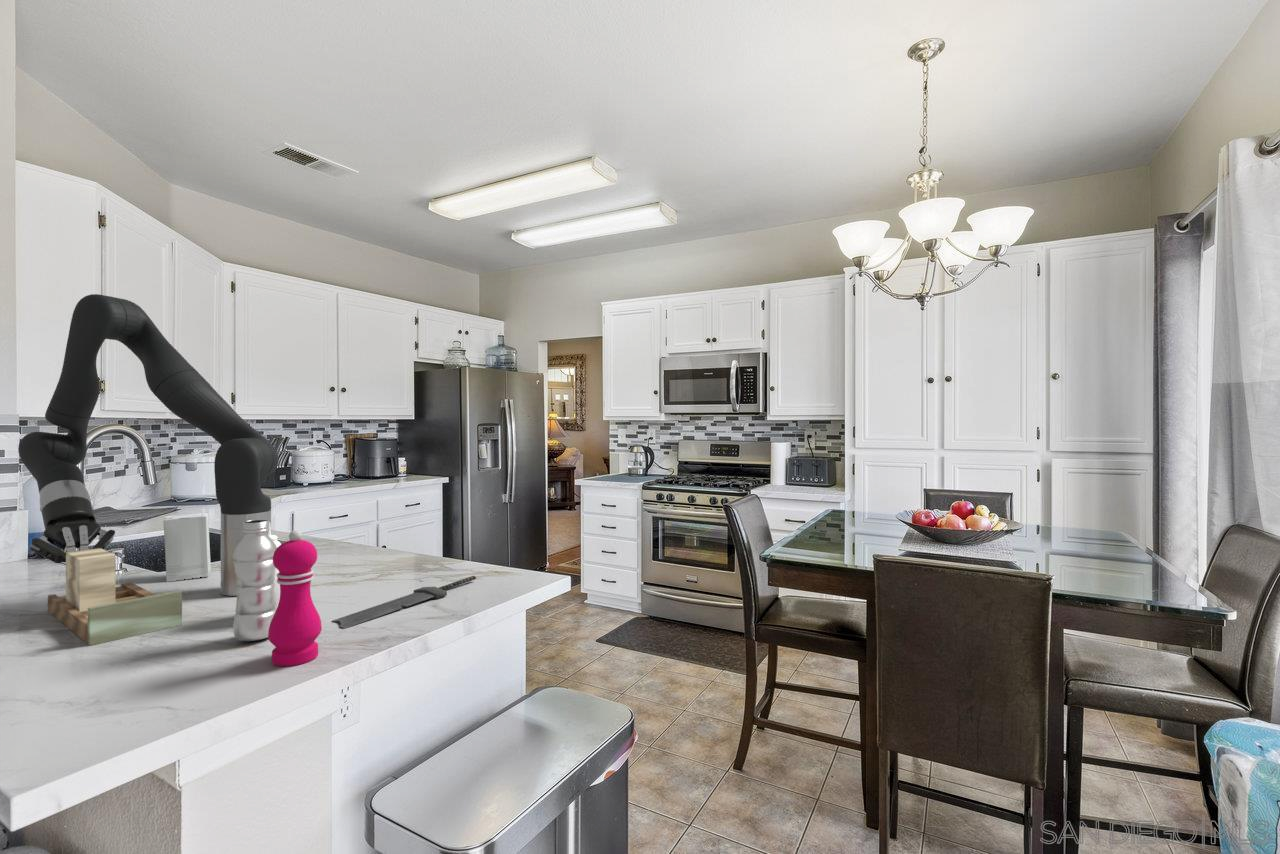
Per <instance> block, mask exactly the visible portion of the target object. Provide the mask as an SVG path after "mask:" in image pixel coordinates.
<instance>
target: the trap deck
mask: <svg viewBox="0 0 1280 854" xmlns="http://www.w3.org/2000/svg"><path fill="white" fill-rule="evenodd" d="M115 596H116V602H115V603H109V604H104V605H99V606H93V607H88V611H83V612H79V611H77V610H76V609H75V608H73V607H72V606H70V605H69V604H68V603H66V595H62V596H58V595H56V594H54V593H53V594H49V595H47V611H48V613H50V614H51V615H53V616H54V617H55V618H56V619H57V620H58V621H59V622H61V623H62V624H64V626H66V627H67V628H68V629H69V630H70V631H72V632H73V633H74V634H75V635H77V636H78V638H79V639H81V640H82V641H84V642H85V643H86V644H87V645H89V646H95V645H100V644H104V643H108V642H109V643H110V642H113V641H117V640H121V639H122V640H123V639H126V638H130V637H134V636H135V637H136V636H139V635H144V634H148V633H153V632H157V631H162V630H167V629H170V628H171V629H172V628H175V627H179V626H182V625H183V591H180V590H175V591H169V592H163V593H158V594H155V593H152V592H151V591H149V590H147V589H145V588H143V587H142V586H140V585H137V584H135V583H133V582H131V581H127V582H121V583H120V586H115Z"/></svg>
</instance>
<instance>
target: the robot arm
mask: <svg viewBox="0 0 1280 854" xmlns="http://www.w3.org/2000/svg"><path fill="white" fill-rule="evenodd" d="M69 325H70V326H69V331H68V337H67V340H66V348H65V352H64V356H63V357H64V358H63V363H62V368H61V372H60V376H59V379H58V382H57V384H56V387H55V390H54V391H53V394H52V397H51V398H50V400H49V401H50V402H49V404H48V406H47V408H46V410H45V414H44V418H45V420H46V421H47V422H49V423H50V424H52V425H53V426H57V427H60V428H63V429H66V430H68V433H66V434H63V433H54V432H46V431H33V432H30V433H27V434H26V435H24V436H23V437H22V438H21V439H20V441H19V444H18V446H17V447H18V448H17V449H18V450H17V451H18V456H19V459H20V460H21V462H22V464H23V465H24V466H25V468H26V469H27V470H28V472H29V473H30V474H31V475H32V477H33V478H34V480H35V481H36V484H37V487H38V494H39V506H40V507H39V510H40V512H41V515H42V521H43V527H44V530H43V534H42V535H41V536H40V537H34V538H32V539H31V543H30V548H29V549H30V550H31V551H32V552H35V553H36V554H38V555H40V556H42V557H43V558H46V559H47V560H49V561H51V562H53V563H55V564H61V563H66V552H73V551H80V550H88V549H90V548H89V546H90V545H91V544H92V543H93V541H94V540H95V539H96V538H97V537H98V541H97V543H95V545H94V546H93V547H92V548H91V549H96V548H102V549H104V550H106V548H107V547H108V546H109V545H110V544H111V543H112V542H113V540H114V538H115V537H114V536H115V534H116V530H114V529H109V530H106V529H102V528H101V525H100V524H98V523H97V522H96V517H95V516H96V515H95V513H94V509H93V505H92V501H91V498H90V493H89V491H88V489H87V487H86V485H85V483H86V482H85V480H84V475H83V472H82V470H81V468H80V467H79V466H78V465H79V464H80V463H82V461H83V460H85V458H86V456H87V449H88V448H87V445H88V442H87V438H88V429H89V428H88V427H89V422H90V419H91V417H92V414H93V413H94V410H95V407H96V405H97V403H98V399H99V396H100V390H101V389H100V380H99V376H98V370H97V359H98V354H99V351H100V349H101V347H102V345H103V343H104V342H105V340H112V341H118V342H120V343H122V344H123V345H124V346H125V347H127V348H128V350H130V351H131V353H133V354H134V356H136V357H137V358H138V360H139V361H140V362H141V364H142V366H143V369H144V377H145V380H146V383H147V386H148V389H149V390H150V391H151V392H152V394H153V395H154V396H155V397H156V398H157V399H158V400H159V401H160V402H161V403H162V404H163V406H165V407H166V408H167V409H168V410H169V411H170V412H171V413H172V414H174V415H175V416H176V417H178V418H180V419H181V420H183V421H185V422H186V423H187V424H190V425H191V426H193V427H194V428H197V429H198V430H200V431H202V432H204V433H206V434H207V435H208V436H210V437H212V438H213V439H214V440H215V441H217V443H218V444H220V446H219V447H218V449H217V451H216V454H215V457H214V464H213V465H214V469H213V470H214V480H215V481H214V484H215V497H216V499H217V503H218V505H219V507H220V595H223V596H230V597H231V596H233V597H234V596H235V597H237V584H236V574H235V569H234V563H233V562H234V561H233V556H232V555H233V552H234V549H235V548H236V546H237V545H238V543H239V542H240V541H241V540H242V538H243V537H244V534H243V533H242V530H243V522H245V521H250V520H268V521H269V522H270V527H271V528H272V500H271V497H270V496H268V495H266V494H264V492H263V490H262V488H261V479H263V478H266V477H269V476H270V475H272V474H273V473H274V472H275V471H276V470H277V468H278V466H279V462H280V460H279V459H280V458H279V454H278V452H277V450H276V447H275V446H274V445H273V443H271V441H269V440H268V439H267V438H266V437H265V436H263V434H261V433H260V432H259V431H258V430H256V429H255V428H254V427H253V426H251V425H250V424H249V423H248V422H247V421H246V420H244V418H242V417H241V416H240V415H239V414H238V413H237V412H236V411H235V410H234V409H233V408H232V406H230V404H229V403H228V402H227V401H226V400H225V399H224V398H223V397H222V396H221V395H220V394H219V393H218V391H216V390H215V388H213V386H212V385H211V384H210V383H209V382H208V381H207V380H206V379H205V377H203V375H202V374H200V373H199V372H198V370H197V369H195V368H194V366H192V365H191V363H190V362H189V361H188V360H186V359H185V357H184V356H182V354H181V353H180V352H179V351H178V350H177V349H176V348H175V347H174V346H173V345H172V344H171V343H170V342H169V341H168V340H167V338H166V337H165V336H164V335H163V333H162V332H161V331H160V329H159V328H158V327H157V325H156V324H155V323H154V321H153V320H152V319H151V318H150V317H149V315H148V314H147V313H146V311H145V310H143V309H142V308H141V306H140V305H138V304H137V303H135V302H133V301H131V300H129V299H125V298H121V297H115V296H109V295H105V294H98V293H97V294H94V293H93V294H87V295H85V296H83V297H82V298H81V299H79V300H78V302H77V303H76V304H75V308H74V309H73V312H72V315H71V320H70V324H69ZM267 535H268V532H267Z"/></svg>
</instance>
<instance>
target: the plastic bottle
mask: <svg viewBox="0 0 1280 854" xmlns="http://www.w3.org/2000/svg"><path fill="white" fill-rule="evenodd" d="M268 531H269V521H268V520H250V521H245V522H243V530H242V533H243V534H244V537H243V538H242V540H241V541H240V542H239V543H238V545H237V546H236V548H235V549H234V552H233V555H232V556H233V561H234V562H233V563H234V569H235V574H236V584H237V596H236V606H235V614H234V618H233V622H232V630H233V631H232V632H233V635H234V637H235V638H236V640H238V641H240V642H253V641H260V640H263V639H267V638H268V632H269V626H270V623H271V620H272V618H273V616H274V614H275V612H276V610H277V608H276V601H275V592H274V581H275V569H276V568H275V566H274V564H273V555H274V552H275V550H276V549H277V546H276V544H275V543H274V542H273V540H272V539H271V538H270V537H269V536H268V535H267V532H268Z"/></svg>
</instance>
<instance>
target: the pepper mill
mask: <svg viewBox="0 0 1280 854" xmlns="http://www.w3.org/2000/svg"><path fill="white" fill-rule="evenodd" d="M302 537H303V533H302V532H301V531H300V530H297V529H294V530H292V531H290V532H289V534H288V539H289V540H288V541H285V542H282V544H281V545H280V546H279V547H277V549H276V550H275V552H274V555H273V564H274V566H275V568H276V569H277V570H279V573H278V574H277V577H278V578H277V579H278V580H277V583H278V584H280V600H279V604H278V607H277V610H276V612H275V614H274V616H273V618H272V620H271V623H270V626H269V632H268V637H267V638H268V640H269V642H270V644H272V645H273V646H274V648H273V649H272V651H271V663H272V665H274V666H278V667H293V666H299V665H303V664H306V663H309V662H311V661H313V660H314V659H316V658H317V657H318V656H319V642H317V641H315V640H317V638H318V637H319V636H320V634H321V632H322V629H323V628H322V620H321V617H320V614H319V612H318V610H317V608H316V606H315V604H314V602H313V599H312V594H311V584H312V583H311V581H312V580H314V579H315V577H314V573H315V571H314V569H312V568H313V567H314V565H315V564H316V562H317V560H318V551H317V548H316V546H315V545H314V543H312V542H310V541H308V540H306V539H305V540H304V539H302Z"/></svg>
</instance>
